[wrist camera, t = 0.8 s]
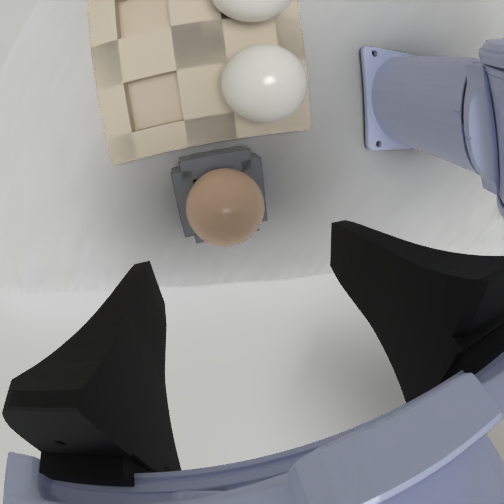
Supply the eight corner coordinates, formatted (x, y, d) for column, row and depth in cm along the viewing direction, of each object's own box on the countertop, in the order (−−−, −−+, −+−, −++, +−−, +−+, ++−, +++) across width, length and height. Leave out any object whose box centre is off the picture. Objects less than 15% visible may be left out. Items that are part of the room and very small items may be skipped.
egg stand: (253, 144, 18) (259, 148, 17) (262, 219, 21) (268, 228, 19) (170, 159, 17) (168, 164, 16) (186, 234, 20) (187, 245, 19)
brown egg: (250, 155, 17) (270, 172, 13) (257, 219, 19) (277, 251, 16) (179, 168, 17) (177, 190, 13) (192, 232, 19) (196, 269, 15)
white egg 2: (286, 49, 14) (317, 36, 10) (293, 116, 16) (325, 123, 13) (212, 54, 13) (221, 38, 10) (221, 124, 16) (234, 132, 12)
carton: (281, -31, 12) (290, -41, 10) (300, 127, 18) (311, 130, 16) (95, -6, 10) (87, -14, 9) (118, 160, 16) (111, 166, 15)
